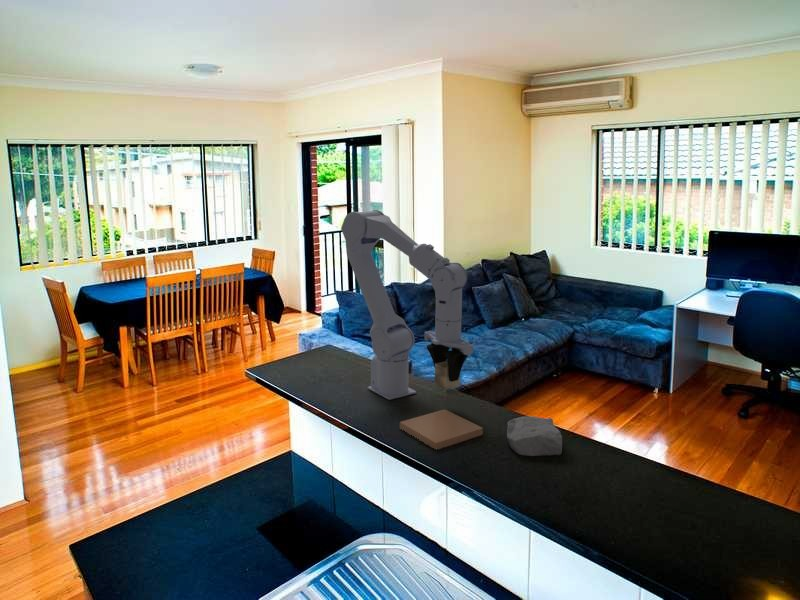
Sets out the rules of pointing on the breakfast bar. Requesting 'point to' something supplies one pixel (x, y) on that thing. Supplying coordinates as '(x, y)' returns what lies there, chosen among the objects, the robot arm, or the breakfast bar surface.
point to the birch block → (444, 377)
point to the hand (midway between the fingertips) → (447, 377)
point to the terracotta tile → (441, 429)
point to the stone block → (534, 436)
